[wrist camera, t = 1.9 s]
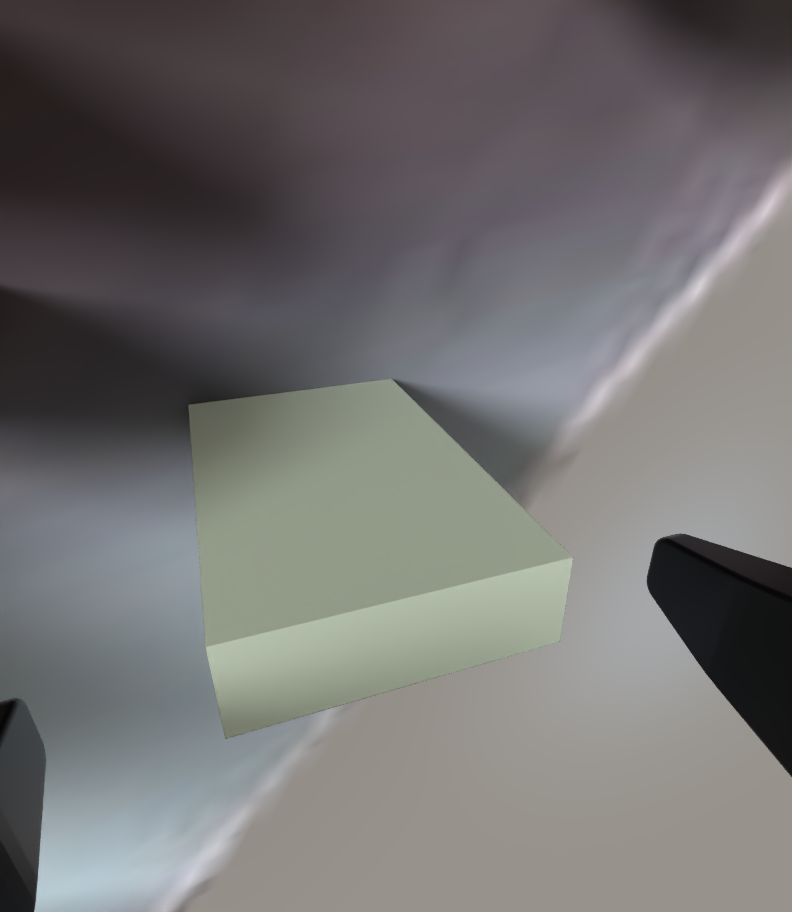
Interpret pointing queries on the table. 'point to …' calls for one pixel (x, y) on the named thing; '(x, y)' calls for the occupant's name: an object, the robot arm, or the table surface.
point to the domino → (355, 553)
